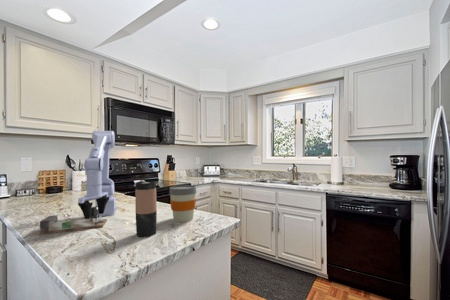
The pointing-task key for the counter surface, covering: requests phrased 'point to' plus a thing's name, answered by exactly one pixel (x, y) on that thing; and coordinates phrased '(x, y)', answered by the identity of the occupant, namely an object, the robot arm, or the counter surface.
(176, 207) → the reusable coffee cup
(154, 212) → the travel mug
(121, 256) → the counter surface
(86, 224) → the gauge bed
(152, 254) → the counter surface
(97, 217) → the gauge slider
